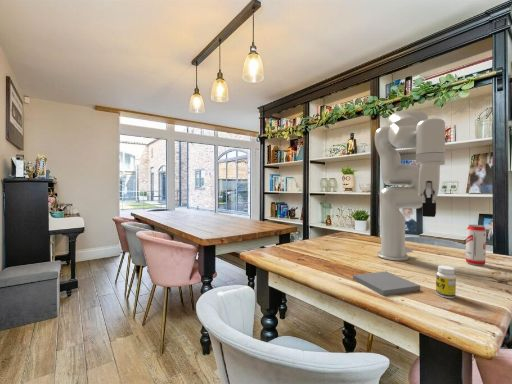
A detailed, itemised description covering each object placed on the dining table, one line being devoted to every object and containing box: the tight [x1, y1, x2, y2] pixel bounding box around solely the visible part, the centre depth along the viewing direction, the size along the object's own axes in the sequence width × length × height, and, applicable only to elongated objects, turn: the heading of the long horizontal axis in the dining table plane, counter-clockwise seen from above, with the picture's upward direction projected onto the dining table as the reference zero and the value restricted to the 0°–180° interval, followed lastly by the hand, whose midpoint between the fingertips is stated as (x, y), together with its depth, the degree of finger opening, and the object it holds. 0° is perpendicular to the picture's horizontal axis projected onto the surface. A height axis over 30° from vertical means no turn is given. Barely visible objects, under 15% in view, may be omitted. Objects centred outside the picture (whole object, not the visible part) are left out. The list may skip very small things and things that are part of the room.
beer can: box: [465, 224, 487, 267], centre depth 110 cm, size 6×6×16 cm
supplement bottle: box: [435, 265, 457, 299], centre depth 79 cm, size 5×5×8 cm
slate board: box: [352, 270, 421, 296], centre depth 88 cm, size 14×14×2 cm
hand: (429, 215), depth 83 cm, fingers open, 9 cm apart
